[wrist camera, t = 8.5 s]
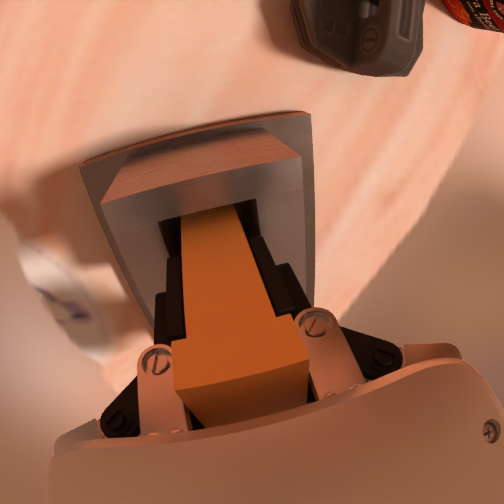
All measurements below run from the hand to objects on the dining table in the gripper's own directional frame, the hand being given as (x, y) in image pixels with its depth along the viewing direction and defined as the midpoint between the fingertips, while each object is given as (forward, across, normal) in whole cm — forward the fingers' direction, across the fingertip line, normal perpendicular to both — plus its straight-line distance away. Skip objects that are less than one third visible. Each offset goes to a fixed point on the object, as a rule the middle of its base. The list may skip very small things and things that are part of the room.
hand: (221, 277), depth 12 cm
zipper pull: (+9, -14, -19) cm, 25 cm away
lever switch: (+8, 0, +5) cm, 10 cm away
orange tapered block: (+4, 0, 0) cm, 4 cm away
